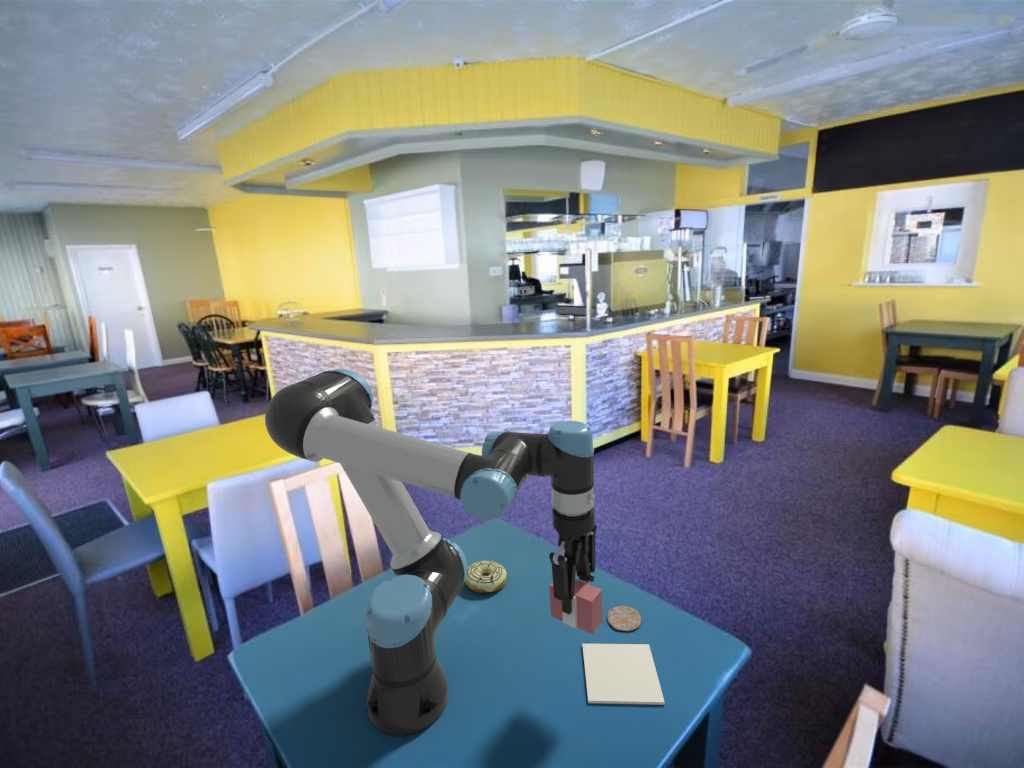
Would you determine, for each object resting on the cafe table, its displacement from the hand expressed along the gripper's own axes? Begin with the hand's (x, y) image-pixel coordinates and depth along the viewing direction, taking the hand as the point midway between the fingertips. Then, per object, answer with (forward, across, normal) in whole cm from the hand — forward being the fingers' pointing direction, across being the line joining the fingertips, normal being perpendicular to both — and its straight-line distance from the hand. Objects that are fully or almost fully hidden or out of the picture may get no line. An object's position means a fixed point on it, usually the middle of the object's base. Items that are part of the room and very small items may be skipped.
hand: (576, 616), depth 96 cm
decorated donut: (+14, +12, +34) cm, 39 cm away
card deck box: (0, 0, 0) cm, 0 cm away
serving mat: (+14, +6, -6) cm, 17 cm away
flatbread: (+15, +20, -1) cm, 24 cm away
